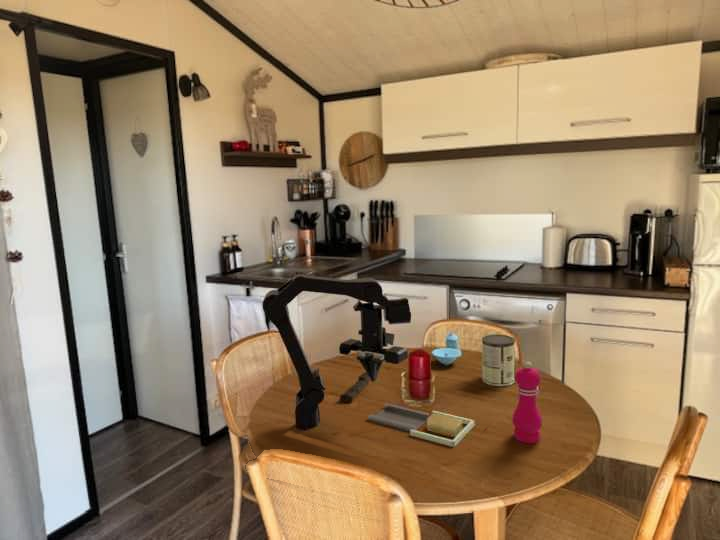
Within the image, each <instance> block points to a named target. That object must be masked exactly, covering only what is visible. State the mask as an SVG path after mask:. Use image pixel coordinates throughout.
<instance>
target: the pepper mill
mask: <svg viewBox="0 0 720 540" xmlns="http://www.w3.org/2000/svg"><path fill="white" fill-rule="evenodd" d="M523 365H524V366H523V367H520V368H519V369H518V370H517V371H516V372H515V374H514V381H515V382H516V384H517V387H516V391H517V393H518V396H519V397H518V398H519V399H518V404H517V405H516V407H515V410H514V412H513V415H512V417H511V418H512V420H511V422H512V425H513V426H514V430H513V436H514V439H515V440H517V441H519V442H520V443H525V444H534V443H538V442H539V441H540V439H541V431H540V429H541V428H542V426H543V418H542V417H543V416H542V414H541V412H540V410H539V408H538V405H537V395H538V394H539V387H538V386H539V385H540V384H541V381H542V379H541V375H540V372H539V371H538V370H537V369H536V368H534V367H532V366H533V364H532V363H531V362H530V361H526V362H524V364H523Z"/></svg>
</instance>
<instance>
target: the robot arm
mask: <svg viewBox="0 0 720 540" xmlns="http://www.w3.org/2000/svg"><path fill="white" fill-rule="evenodd" d="M302 292H310V293H320V294H330V295H337V296H338V295H341V296H346V297H351V298H352V299H356V300H357V302H356V303H355V304H354V305H352V309H353V311H354V312H360V329H359V330H358V335H359V336H360V335H361V340H359V339H354V338H349V339H347V340H344V341H342V342H341V343H340V344H339V346H338V351H339V354H340V355H346V356H348V355H349V354H351V353H352V351H353V352H357V356H356V360H357V361H359V362H360V364H361V366H362V367H363V369H364V370H365V372H367V374H368V376H369V380H370V381H371V382H372V383H375V382H376V381H377V379H378V375H379V372H380V369H381V366H382V364H383V362H384V361H385V362H386V363H388V364H394V365H398V364H401V363H402V362H403V361H405V360H407V359H408V357H409V356H408V355H409V354H408V353H409V352H408V350H407V348H405V347H402V346H396V345H394V342H395V333H390V332H387V331H386V327H385V326H384V327H383V319H384V322H387V323H388V325H390V326H391V325H400V324H401V325H402V324H403V325H404V324H411V322H412V321H411V320H412V312H411V308H410V303H409V299H408V298H407V297H400V298H393V299H391V298H390V299H389V298H388V297H387V296H386V295H385V294H383V287H382V286H381V284H380V283H379V282H378V280H376V279H375V278H373V277H359V278H350V279H342V278H333V277H325V276H324V277H322V276H316V275H315V276H313V275H307V274H303V273H297V274H295V275H294V276H293V278H292V279H290V280H289V281H287V282H285V283H284V284H282V285H280V287H279V288H277V289H272V290H269V291H268V292H267V293H266V294H265V295H264V298H263V302H262V306H261V307H262V310H263V312H264V313H265V315H266V317H267V318H268V319H269V321H270V322H271V324H272V325H274V326H275V328H276V329H277V331H278V333H279V335H280V337H281V340H282V342H283V345H284V347H285V349H286V351H287V353H288V355H289V358H290V360H291V363H292V365H293V366H294V367H293V368H294V369H295V371H296V374H297V377H298V383H299V388H300V389H299V391H298V392H296V394H295V407H294V408H295V409H294V415H295V418H294V419H295V429H299V430H302V431H307V430H311V429H314V428H316V427H318V426H319V422H320V421H321V416H320V415H321V414H320V407H319V406H320V404H322V402H323V401H324V399H325V391H326V382H325V379H324V378H323V377H322V375H321V370H320V368H317V369H316V370H315V369H313V367H312V366H311V365H310V362H309V360H308V358H307V356H306V353H305V351H304V348H303V346H302V344H301V342H300V339H299V337H298V335H297V332H296V330H295V328H294V325H293V323H292V321H291V316H290V311H289V307H288V305H289V304H290V303H291V302H292V301H293V300H294V299H296V298H297V296H299V295H300V294H301V293H302ZM389 345H390V346H391V347H390V348H387V347H388V346H389ZM384 347H385V348H384Z"/></svg>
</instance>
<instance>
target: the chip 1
mask: <svg viewBox="0 0 720 540" xmlns="http://www.w3.org/2000/svg"><path fill="white" fill-rule="evenodd" d="M446 417H448V416H445V415H440V414H436V413H433V414H430V417H429V418H428V419H427V421H426V424H427V425H426V430H427V431H429V432H433V433H437V434H441V422H442V421H443V420H444V419H445V418H446ZM441 435H442V434H441Z"/></svg>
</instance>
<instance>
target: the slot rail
mask: <svg viewBox="0 0 720 540" xmlns="http://www.w3.org/2000/svg"><path fill="white" fill-rule="evenodd" d="M430 416H431V413H429V412H425V411H422V410H418V409H412V408H407V407H404V406H400V405H396V404H392V403H387V402H385V404H383V409H381V410H380V411H379V412H377V413H376V414H371V413H370V414H369V415H368V416H367V417H368V420H367V421H369V422H371V423H377V424H380V425H383V426H386V427H391V428H395V429H397V430H402V431H406V432H409V433H410V430H411V429H412V430H416V431H418V429H419V428H420V427H421V426H423V425H424V424H425V423H427V419H428V418H429V417H430Z"/></svg>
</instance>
